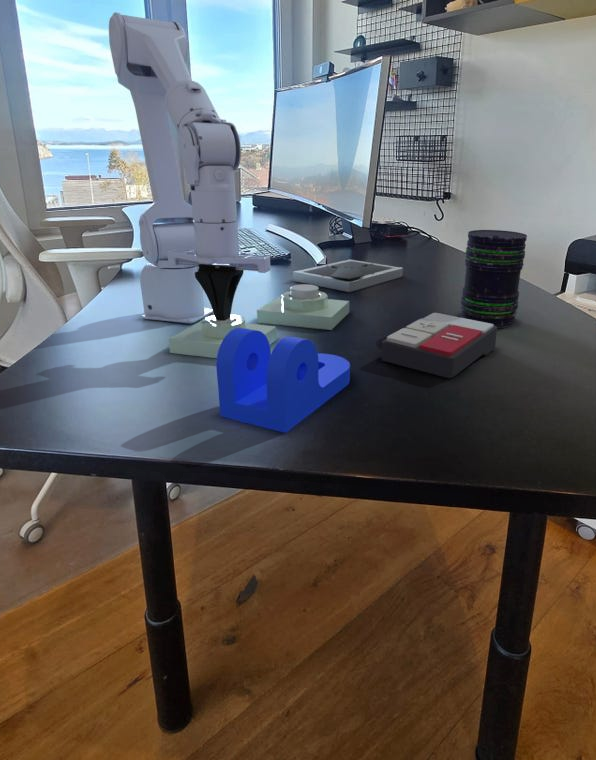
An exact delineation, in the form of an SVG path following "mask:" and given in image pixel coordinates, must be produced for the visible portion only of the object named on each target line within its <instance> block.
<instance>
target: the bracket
mask: <svg viewBox="0 0 596 760" xmlns="http://www.w3.org/2000/svg"><path fill="white" fill-rule="evenodd" d="M215 367H216V379H217V380H216V381H217V389H218V391H217V392H218V403H219V413H220V417H221V418H225V419H229V420H233V421H236V422H240V423H245V424H248V425H253V426H256V427H260V428H264V429H268V430H272V431H276V432H279V433H284V434H287V433H288V432H289V431H290V430H292V429H293V428H294V427H296V426H298V424H300V423H301V422H302V421H304V420H305V419H307V417H309V416H310V415H311V414H313V413H314V412H315V411H316V410H318V409H319V408H320V407H321V406H323V405H324V404H325V403H327V402H328V401H329V400H330V399H331V398H333V397H334V396H335V395H337V394H338V393H340V392H342V390H343V389H344V388H346V387H347V386H348V385H349V384H350V380H351V363H350V362H349V360H347V359H346V358H344V357H342V356H339V355H335V354H330V353H318V349H317V347H316V345H315V344H314V342H313V341H311V340H310V339H308V338H307V339H306V338H301V337H296V336H295V337H294V336H284V337H282V338H281V339H280V340H279V341H278V342H277V343H276V344H275V346H274V347H273V349H272V351H271V345H269V341H268V339H267V337H266V336H265V335H264V334H263V333H262V332H260V331H257V330H251V329H246V328H236V329H233V330H232V331H230V332H229V333H228V334H227V335H226V336H225V338H224V339H223V341H222V343H221V345H220V348H219V351H218V355H217V358H216V362H215Z"/></svg>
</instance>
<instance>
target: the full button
mask: <svg viewBox="0 0 596 760" xmlns="http://www.w3.org/2000/svg"><path fill="white" fill-rule="evenodd" d="M289 289H290V290H289V291H291V297H292V298H295V299H313V298H318V297H319V291H320V288H319V286H315V285H310V284H305V283H301V284H294V285H292V286H290V288H289Z"/></svg>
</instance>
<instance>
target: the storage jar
mask: <svg viewBox="0 0 596 760" xmlns="http://www.w3.org/2000/svg"><path fill="white" fill-rule="evenodd" d="M467 238H468V240H467V242H466V248H465V260H464V262H465V263H464V265H465V277H464V286H463V287H462V293H461V299H460V310H461V313H460V316H459V317H460V318H465V319H470V320H475V321H480V322H485V323H490V324H493V325H494V326H497V329H502V328H503V329H505V328H509V327H512V326H514V325H515V324H516V315H517V310H518V308H519V297H520V291H519V288H520V287H519V286H520V280H521V272H522V270H523V267H524V259H525V257H526V251H525V250H526V242H527V238H528V235H527V234H526V233H522V232H517V231H509V230H500V229H475V230H474V229H473V230H470V231H469V230H468V232H467Z"/></svg>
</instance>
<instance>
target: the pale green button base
mask: <svg viewBox="0 0 596 760" xmlns="http://www.w3.org/2000/svg"><path fill="white" fill-rule="evenodd" d="M231 316H233V317H234V318H235V322H234V323H229V324H214V323H212V318H213V317H215V315H214V314H213V315H208V316H206V317H204V318H202V319H200V320H199V322H198V321H197V322H195V324H194V323H193V325H191V326H189V327H187V328H185V329H183V330H181V331H179V332H178V333H175V334H174V335H172V336H170V337H168V338H167V339H168V340H167V341H168V347H169V348H168V349H169V353H170V354H177V355H185V356H192V357H202V358H209V359H217V355H218V351H219V348H220V345H221V343H222V341H223V339H224V338H225V336H226V335H227V334H228V333H229V332H230V331H232V330H233V329H236V328H246V329H251V330H257V331H260V332H262V333H263V334H264V335H265V336H266V337H267V339H268V341H269V345H270V346H271V345H272V344H273V343H274V342H276V341H277V327H276V326H274V325H265V324H254V323H246V320H245V319H246V318H245V317H244V316H241V315H237V314H231Z"/></svg>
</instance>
